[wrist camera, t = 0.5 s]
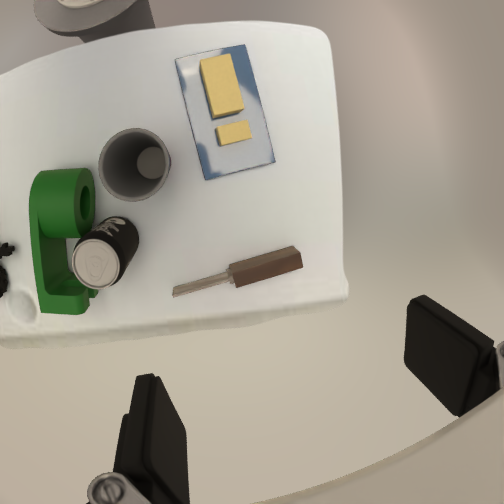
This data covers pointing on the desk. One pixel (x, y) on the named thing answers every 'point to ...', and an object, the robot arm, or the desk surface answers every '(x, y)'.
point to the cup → (134, 164)
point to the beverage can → (105, 253)
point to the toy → (5, 250)
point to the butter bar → (221, 85)
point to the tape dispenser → (60, 236)
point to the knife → (249, 271)
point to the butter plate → (203, 125)
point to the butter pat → (233, 132)
